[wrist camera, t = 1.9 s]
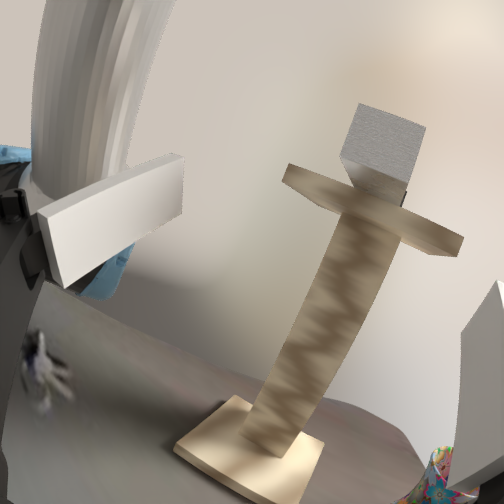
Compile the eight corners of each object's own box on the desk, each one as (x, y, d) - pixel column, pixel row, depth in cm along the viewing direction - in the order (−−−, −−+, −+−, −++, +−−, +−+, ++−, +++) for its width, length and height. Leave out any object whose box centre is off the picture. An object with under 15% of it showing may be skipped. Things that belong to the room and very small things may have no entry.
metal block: (413, 185, 13) (433, 118, 13) (334, 154, 15) (357, 91, 14) (394, 224, 33) (405, 194, 33) (362, 210, 35) (373, 181, 34)
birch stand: (172, 450, 28) (288, 163, 24) (231, 402, 41) (322, 193, 37) (287, 518, 24) (464, 237, 19) (319, 450, 36) (433, 242, 32)
